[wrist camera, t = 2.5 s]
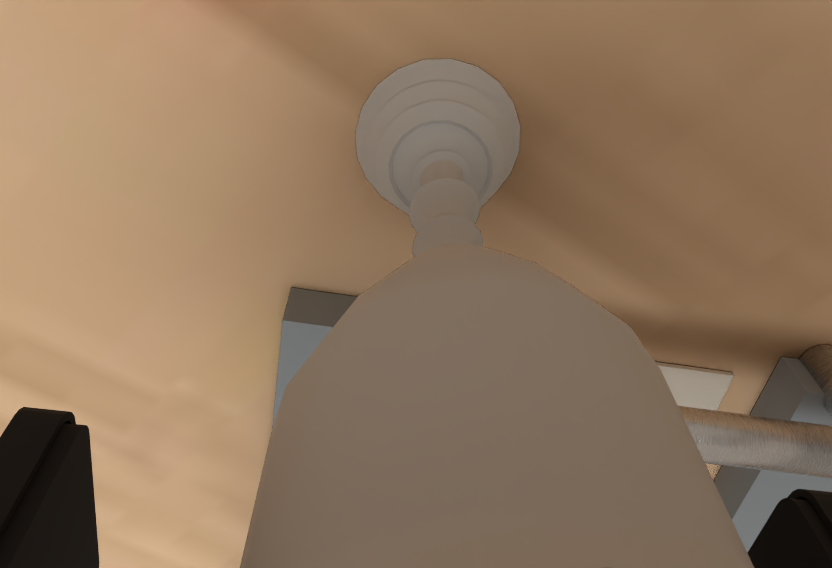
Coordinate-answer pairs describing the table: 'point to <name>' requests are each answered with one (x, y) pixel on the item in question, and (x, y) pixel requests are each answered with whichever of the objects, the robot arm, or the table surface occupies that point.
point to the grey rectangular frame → (738, 487)
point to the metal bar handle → (769, 432)
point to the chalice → (476, 388)
